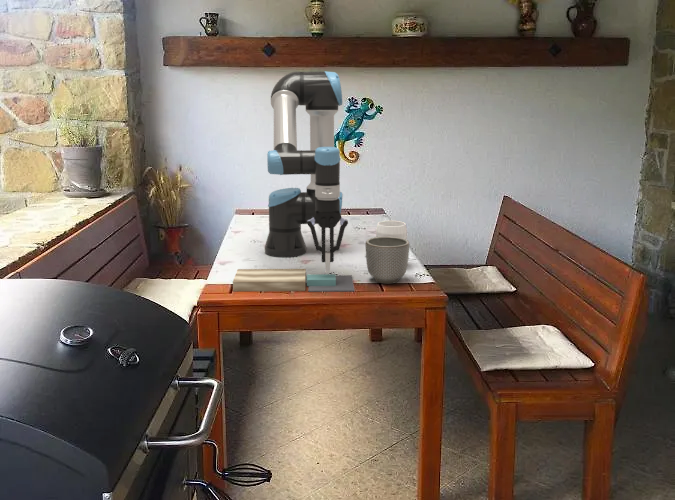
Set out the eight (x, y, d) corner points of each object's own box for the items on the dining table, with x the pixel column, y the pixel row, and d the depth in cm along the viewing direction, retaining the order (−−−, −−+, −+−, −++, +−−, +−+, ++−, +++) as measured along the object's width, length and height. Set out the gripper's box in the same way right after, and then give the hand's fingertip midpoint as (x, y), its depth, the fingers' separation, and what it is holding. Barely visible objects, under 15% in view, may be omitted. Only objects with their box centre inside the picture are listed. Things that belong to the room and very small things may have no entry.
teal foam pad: (306, 286, 222) (306, 279, 222) (307, 280, 228) (307, 274, 228) (335, 285, 223) (335, 279, 222) (335, 280, 228) (335, 274, 228)
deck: (237, 278, 232) (237, 269, 231) (305, 277, 233) (305, 268, 232) (233, 291, 218) (232, 281, 218) (305, 290, 219) (305, 281, 218)
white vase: (404, 271, 240) (406, 227, 236) (373, 269, 242) (374, 226, 238) (407, 262, 250) (408, 220, 246) (377, 261, 252) (377, 219, 248)
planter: (373, 272, 238) (374, 234, 235) (413, 277, 233) (414, 238, 230) (358, 284, 226) (359, 244, 222) (400, 289, 221) (401, 248, 217)
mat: (308, 276, 234) (308, 275, 233) (351, 276, 234) (351, 275, 234) (308, 291, 218) (308, 290, 218) (354, 291, 218) (354, 290, 218)
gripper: (306, 200, 215) (306, 275, 221) (349, 200, 216) (348, 275, 222) (306, 196, 223) (307, 268, 228) (348, 195, 223) (347, 268, 229)
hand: (327, 272), depth 225 cm, fingers closed
